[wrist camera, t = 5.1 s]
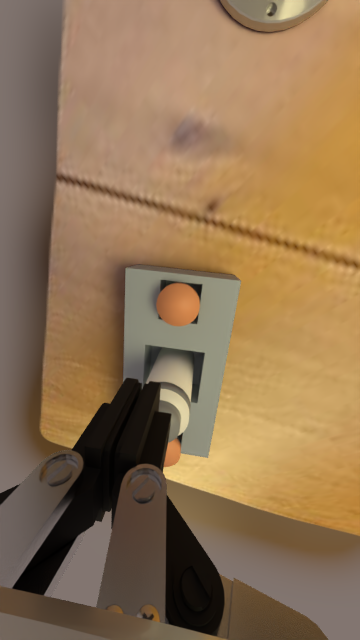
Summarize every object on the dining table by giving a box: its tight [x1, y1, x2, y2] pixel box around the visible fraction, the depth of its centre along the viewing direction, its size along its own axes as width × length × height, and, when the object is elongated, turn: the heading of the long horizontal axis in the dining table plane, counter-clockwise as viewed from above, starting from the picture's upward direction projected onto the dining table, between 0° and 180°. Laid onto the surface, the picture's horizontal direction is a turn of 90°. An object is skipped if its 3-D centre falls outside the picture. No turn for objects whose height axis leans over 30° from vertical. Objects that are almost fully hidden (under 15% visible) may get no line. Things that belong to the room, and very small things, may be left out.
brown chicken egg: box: [156, 283, 200, 326], centre depth 25 cm, size 4×4×5 cm
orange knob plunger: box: [164, 437, 181, 467], centre depth 29 cm, size 4×4×5 cm
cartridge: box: [146, 347, 194, 443], centre depth 25 cm, size 5×5×12 cm
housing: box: [123, 264, 241, 458], centre depth 29 cm, size 24×12×5 cm, turn 174°
